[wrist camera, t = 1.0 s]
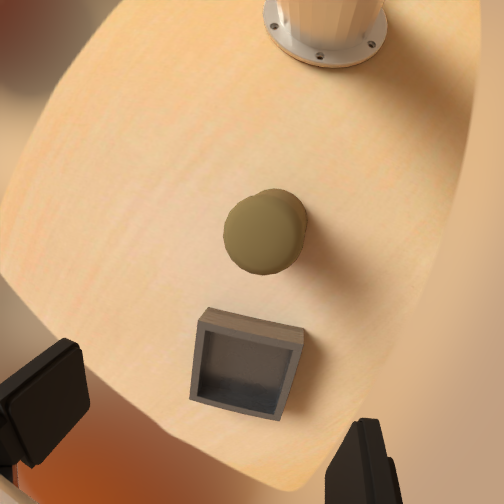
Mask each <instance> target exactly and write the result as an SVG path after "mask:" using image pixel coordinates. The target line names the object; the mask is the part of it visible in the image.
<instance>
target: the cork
mask: <svg viewBox="0 0 504 504" xmlns="http://www.w3.org/2000/svg"><path fill="white" fill-rule="evenodd" d="M306 226H307V216H306V211H305V209H304V207H303V205H302V203H301V201H300V200H299V199H298V198H297V197H295V196H294V195H293V194H291V193H289V192H287V191H285V190H281V189H269V190H264V191H262V192H260V193H258V194H256V195H255V196H250V197H248V198H246V199H244V200H242V201H241V202H239V203H238V204H237V205H236V206H235V207H234V208H233V209H232V210H231V211H230V213H229V215H228V217H227V219H226V222H225V225H224V234H223V238H224V243H225V248H226V250H227V252H228V254H229V256H230V258H231V260H233V261H234V262H235V263H236V264H237V265H238V266H239V267H240V268H241V269H243V270H245V271H247V272H249V273H251V274H258V275H270V274H276V273H278V272H280V271H282V270H284V269H286V268H288V267H289V266H290V265H291V264H292V263H293V262H294V261H295V260H296V259H297V258H298V256H299V254H300V252H301V250H302V248H303V242H304V233H305V231H306Z"/></svg>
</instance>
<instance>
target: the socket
mask: <svg viewBox="0 0 504 504" xmlns="http://www.w3.org/2000/svg"><path fill="white" fill-rule="evenodd" d="M303 345H304V328H299V327H294V326H289V325H284V324H280V323H275V322H270V321H266V320H261V319H257V318H252V317H248V316H243V315H239V314H235V313H230V312H226V311H222V310H218V309H214V308H210V307H208V308H207V309H206V311H205V312H204V313H203V315H202V316H201V317H200V318H199V320H198V324H197V333H196V341H195V350H194V358H193V368H192V377H191V387H190V397H189V399H190V400H193V401H196V402H200V403H203V404H207V405H211V406H214V407H218V408H222V409H226V410H230V411H234V412H238V413H242V414H246V415H251V416H255V417H260V418H265V419H270V420H275V421H280V419H281V416H282V413H283V410H284V407H285V404H286V401H287V398H288V395H289V391H290V388H291V385H292V382H293V379H294V375H295V372H296V369H297V366H298V362H299V359H300V356H301V352H302V349H303Z"/></svg>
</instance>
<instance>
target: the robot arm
mask: <svg viewBox="0 0 504 504" xmlns="http://www.w3.org/2000/svg"><path fill="white" fill-rule="evenodd" d="M384 1H385V0H265V3H264V7H263V18H264V23H265V27H266V30H267V32H268V34H269V35H270V37H271V39H272V40H273V41H274V42H275V44H276V45H277V46H278V47H279V48H281V49H282V50H283V51H284V52H286V53H287V54H288V55H290V56H292V57H294V58H296V59H297V60H300V61H303V62H305V63H308V64H311V65H316V66H320V67H330V68H339V67H348V66H353V65H357V64H359V63H361V62H364V61H366V60H368V59H369V58H370V57H372V56H373V55H375V53H376V52H377V51H378V50H379V49H380V48H381V46H382V44H383V42H384V40H385V37H386V34H387V19H386V15H385V12H384V10H383V8H382V5H383V3H384ZM273 29H276V30H273ZM369 46H371V47H372V48H371V47H369ZM317 58H322V60H319V59H317ZM89 407H90V399H89V393H88V388H87V382H86V375H85V369H84V361H83V354H82V350H81V349H80V347H79V345H78V344H77V343H76V342H73V341H71V340H69V339H67V338H62V339H61V340H59V341H58V342H56V343H55V344H54V345H52V346H51V347H49V348H48V349H47V350H45V351H44V352H43V353H41V354H40V355H39V356H37V357H36V358H34V359H33V360H32V361H30V362H29V363H28V364H26V365H25V366H24V367H22V368H21V369H20V370H18V371H17V372H16V373H14V374H13V375H12V376H10V377H9V378H8V379H6V380H5V381H4V382H3V383H1V384H0V504H39V503H38V502H36V501H34V500H33V499H32V498H30V497H29V496H28V495H26V494H25V493H24V492H22V491H21V490H20V489H19V484H18V471H17V463H18V462H19V461H20V460H21V461H22V462H23V463H25V464H26V465H27V466H29V467H30V468H31V469H32V468H33V467H34V466H35V465H39V464H41V463H42V462H43V461H44V460H45V458H46V457H47V456H48V455H49V454H50V453H51V452H52V450H53V449H54V448H55V447H56V446H57V445H58V443H60V441H61V440H62V439H63V438H64V437H65V436H66V434H67V433H68V432H69V431H70V430H71V429H72V428H73V427H74V426H75V425H76V423H77V422H78V421H79V420H80V419H81V418H82V417H83V416H84V414H85V413H86V412H87V411H88V410H89ZM325 504H403V502H402V497H401V492H400V487H399V482H398V477H397V473H396V468H395V464H394V461H393V459H392V458H391V457H387V453H386V449H385V444H384V440H383V436H382V431H381V427H380V423H379V420H378V419H371V418H360V419H359V421H358V422H356V421H354V422H353V423H352V425H351V427H350V429H349V431H348V433H347V434H346V436H345V438H344V440H343V442H342V444H341V445H340V447H339V449H338V451H337V453H336V454H335V456H334V458H333V459H332V461H331V463H330V465H329V466H328V468H327V470H326V474H325Z"/></svg>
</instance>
